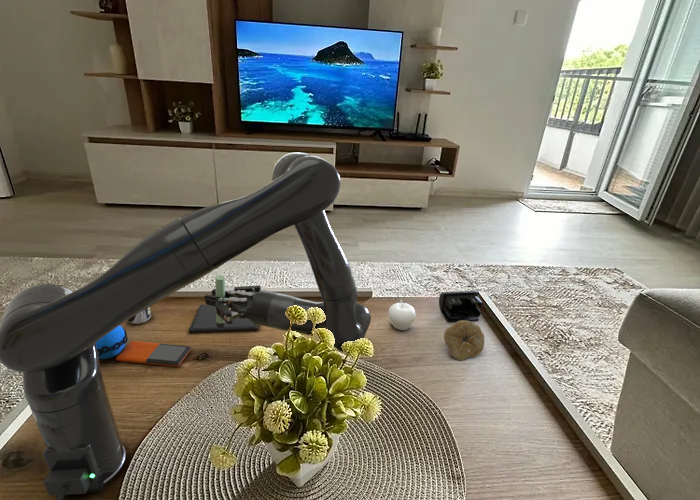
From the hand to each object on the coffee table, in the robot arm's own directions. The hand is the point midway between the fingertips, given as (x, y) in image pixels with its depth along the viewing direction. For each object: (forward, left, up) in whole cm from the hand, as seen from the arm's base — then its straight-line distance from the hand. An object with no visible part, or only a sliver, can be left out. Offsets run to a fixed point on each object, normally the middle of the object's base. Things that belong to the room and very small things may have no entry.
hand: (209, 296), depth 90 cm
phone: (-2, +13, -14) cm, 20 cm away
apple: (+6, -47, -14) cm, 49 cm away
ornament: (-2, +24, -14) cm, 28 cm away
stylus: (-1, -2, -7) cm, 8 cm away
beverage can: (+13, +22, -14) cm, 30 cm away
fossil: (-5, -60, -14) cm, 62 cm away
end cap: (+10, -64, -14) cm, 66 cm away
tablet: (+12, -1, -14) cm, 18 cm away
